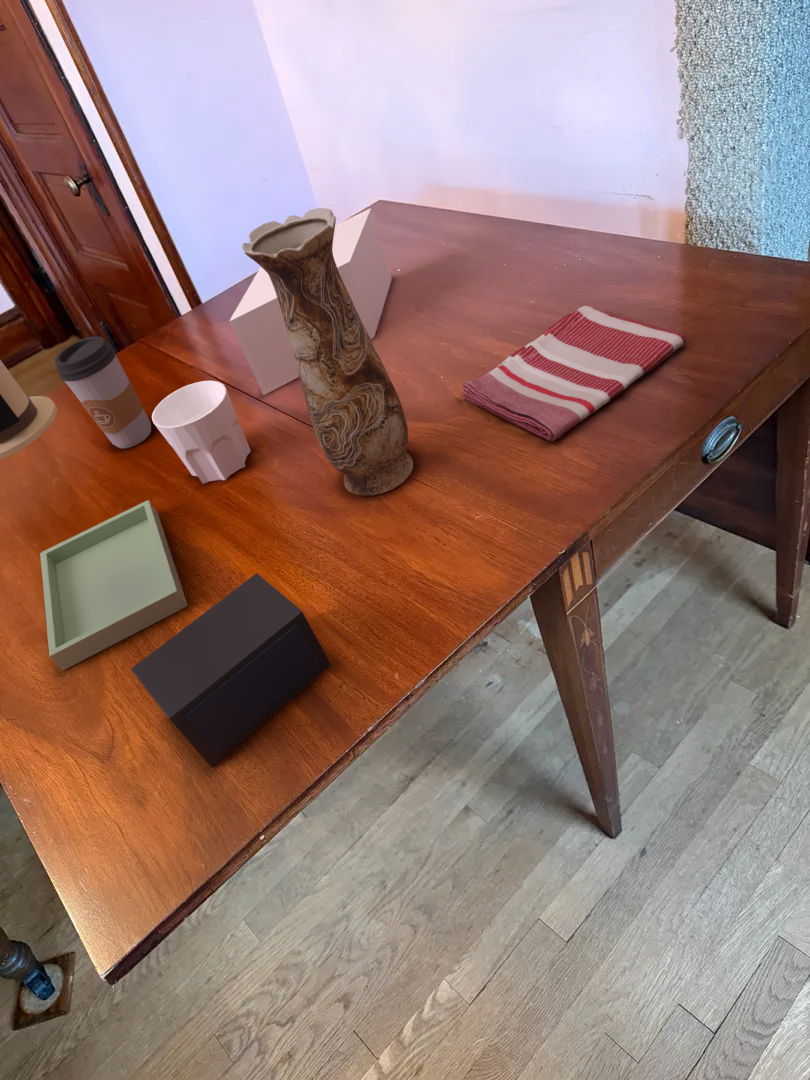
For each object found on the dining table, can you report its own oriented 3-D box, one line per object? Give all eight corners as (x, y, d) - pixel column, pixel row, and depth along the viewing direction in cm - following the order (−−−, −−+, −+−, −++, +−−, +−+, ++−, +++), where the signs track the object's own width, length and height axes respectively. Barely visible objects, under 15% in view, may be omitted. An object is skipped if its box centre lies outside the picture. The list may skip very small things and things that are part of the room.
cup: (269, 455, 100) (239, 393, 93) (207, 497, 96) (172, 436, 90) (234, 432, 106) (204, 373, 100) (175, 471, 103) (140, 412, 96)
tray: (187, 606, 82) (176, 590, 81) (63, 670, 80) (49, 656, 78) (158, 514, 97) (148, 499, 95) (51, 566, 94) (39, 552, 93)
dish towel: (461, 401, 97) (456, 384, 95) (587, 315, 104) (585, 298, 102) (554, 447, 85) (551, 428, 83) (689, 347, 92) (689, 327, 90)
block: (224, 388, 117) (188, 317, 109) (353, 277, 134) (331, 208, 126) (305, 402, 107) (273, 325, 99) (433, 280, 125) (414, 206, 116)
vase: (343, 511, 87) (238, 268, 67) (331, 460, 95) (235, 230, 75) (427, 481, 87) (347, 229, 67) (409, 433, 95) (332, 195, 75)
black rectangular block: (212, 769, 66) (170, 720, 61) (172, 717, 71) (130, 668, 66) (333, 666, 71) (303, 612, 65) (287, 625, 76) (256, 572, 71)
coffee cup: (97, 455, 112) (39, 370, 102) (124, 421, 118) (71, 337, 108) (143, 451, 109) (88, 363, 99) (168, 417, 115) (118, 330, 105)
